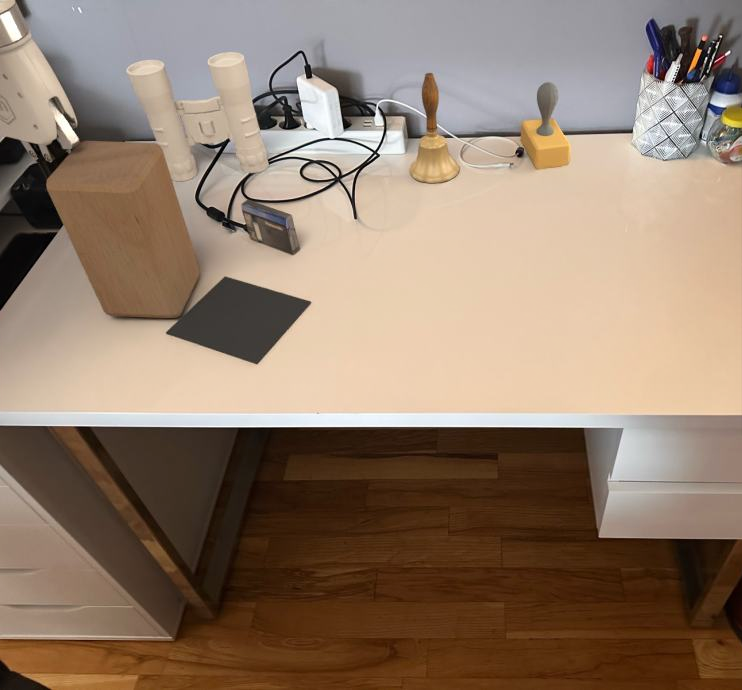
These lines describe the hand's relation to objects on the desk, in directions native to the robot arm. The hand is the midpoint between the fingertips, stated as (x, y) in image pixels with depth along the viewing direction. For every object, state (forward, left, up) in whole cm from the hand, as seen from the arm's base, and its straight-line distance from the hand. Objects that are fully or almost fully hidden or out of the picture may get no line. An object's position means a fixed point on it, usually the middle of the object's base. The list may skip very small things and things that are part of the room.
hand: (66, 183), depth 82 cm
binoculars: (+30, +5, -16) cm, 34 cm away
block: (0, -8, -15) cm, 17 cm away
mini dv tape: (+16, -16, -16) cm, 27 cm away
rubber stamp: (+55, -44, -16) cm, 72 cm away
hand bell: (+43, -29, -16) cm, 54 cm away
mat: (+1, -21, -16) cm, 26 cm away
